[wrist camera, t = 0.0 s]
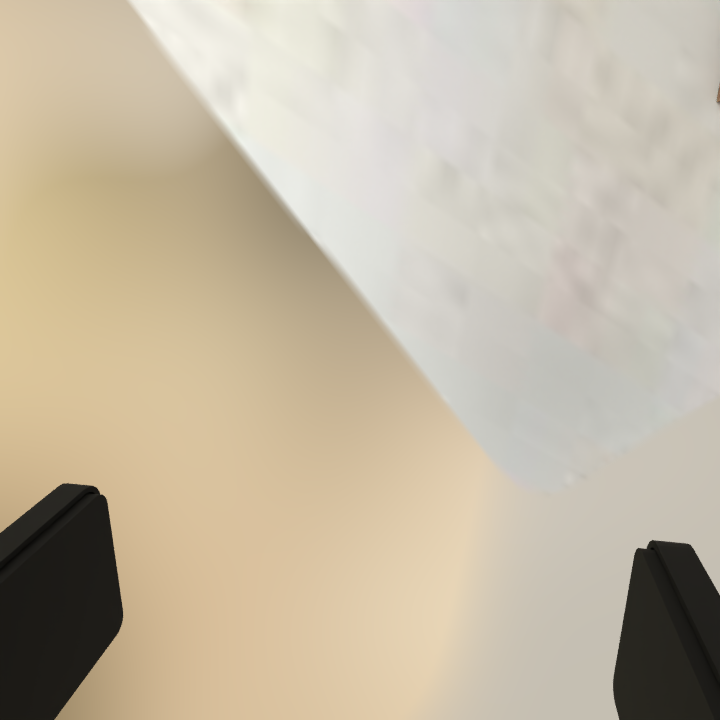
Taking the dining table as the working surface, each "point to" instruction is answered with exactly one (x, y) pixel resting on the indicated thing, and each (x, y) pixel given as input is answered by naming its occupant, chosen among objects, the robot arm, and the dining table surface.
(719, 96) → the board
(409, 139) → the dining table surface
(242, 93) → the dining table surface
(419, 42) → the dining table surface
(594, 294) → the dining table surface
